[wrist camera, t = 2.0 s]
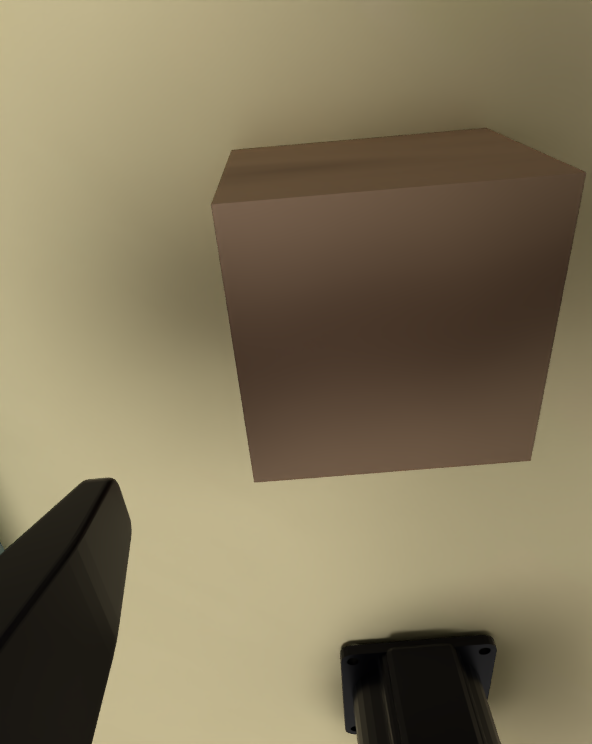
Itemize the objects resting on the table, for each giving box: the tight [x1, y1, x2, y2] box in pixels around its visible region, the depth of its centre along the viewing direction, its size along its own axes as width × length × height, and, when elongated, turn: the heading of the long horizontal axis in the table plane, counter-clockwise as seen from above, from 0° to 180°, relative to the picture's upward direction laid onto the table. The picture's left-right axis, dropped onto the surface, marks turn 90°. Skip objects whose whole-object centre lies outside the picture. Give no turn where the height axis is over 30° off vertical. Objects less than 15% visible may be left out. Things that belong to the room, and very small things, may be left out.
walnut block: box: [211, 128, 586, 482], centre depth 12 cm, size 6×6×5 cm
